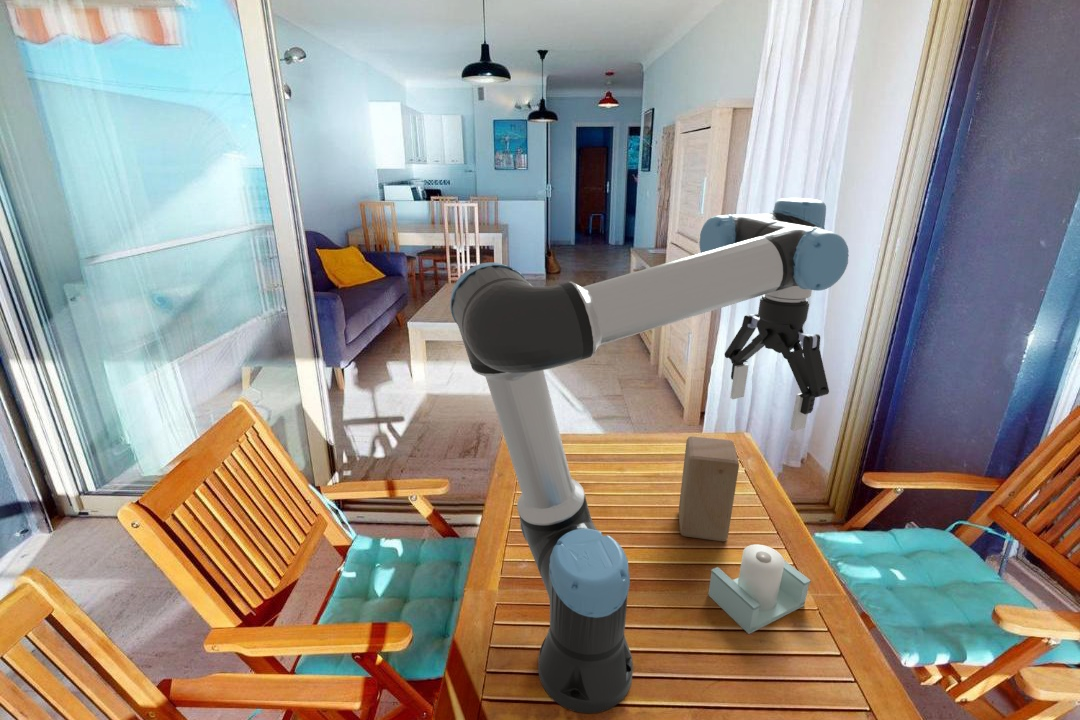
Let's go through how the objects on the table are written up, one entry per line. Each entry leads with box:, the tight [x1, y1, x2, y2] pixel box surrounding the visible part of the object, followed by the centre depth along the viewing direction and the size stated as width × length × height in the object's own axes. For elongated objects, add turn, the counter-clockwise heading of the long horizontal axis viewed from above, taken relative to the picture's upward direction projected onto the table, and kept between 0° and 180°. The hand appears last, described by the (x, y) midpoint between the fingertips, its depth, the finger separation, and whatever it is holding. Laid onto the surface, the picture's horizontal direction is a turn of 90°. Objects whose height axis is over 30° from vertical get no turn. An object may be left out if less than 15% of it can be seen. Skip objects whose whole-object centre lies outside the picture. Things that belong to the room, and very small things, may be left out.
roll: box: [738, 543, 785, 611], centre depth 101 cm, size 7×7×9 cm
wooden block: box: [678, 435, 740, 542], centre depth 120 cm, size 10×10×20 cm
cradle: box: [707, 559, 812, 635], centre depth 102 cm, size 14×10×6 cm
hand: (765, 412), depth 99 cm, fingers open, 13 cm apart
